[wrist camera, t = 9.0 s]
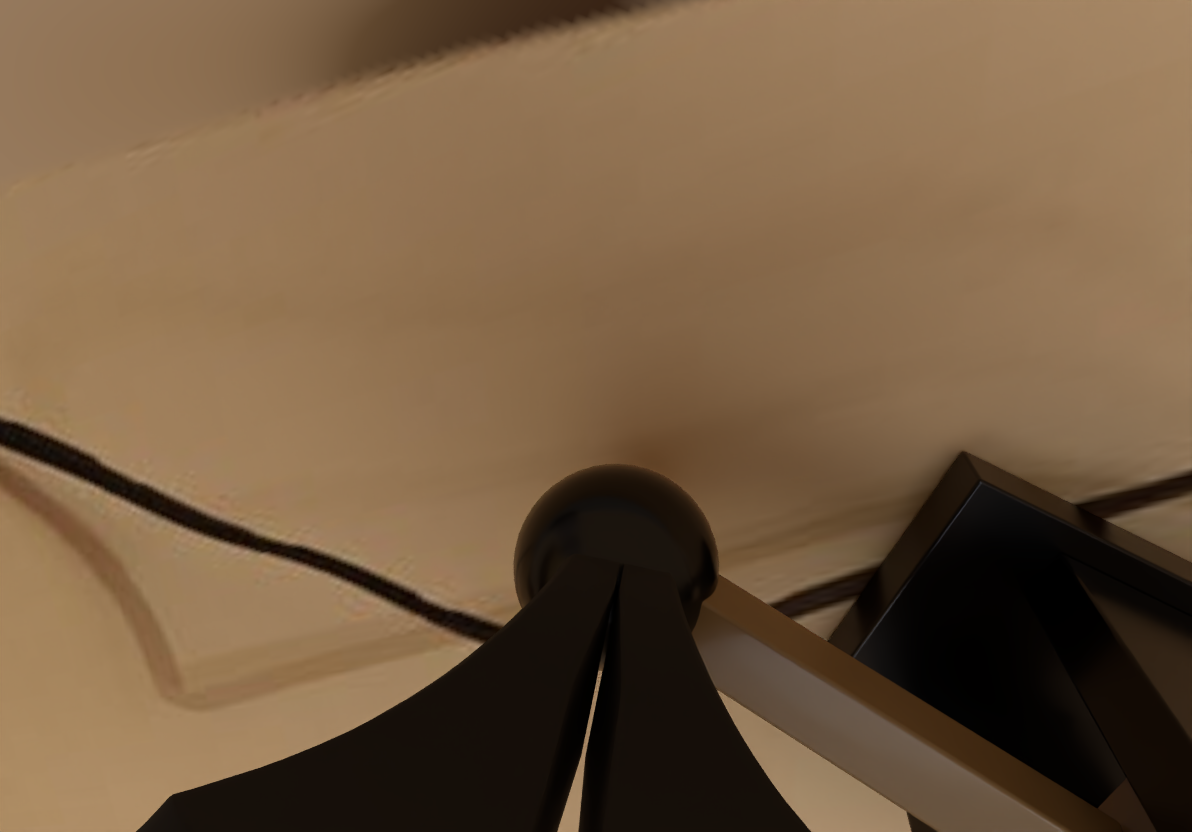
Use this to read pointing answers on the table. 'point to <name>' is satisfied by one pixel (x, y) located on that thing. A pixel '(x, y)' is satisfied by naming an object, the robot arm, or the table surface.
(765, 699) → the lever
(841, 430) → the table surface
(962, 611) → the lamp switch bracket
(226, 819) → the robot arm
